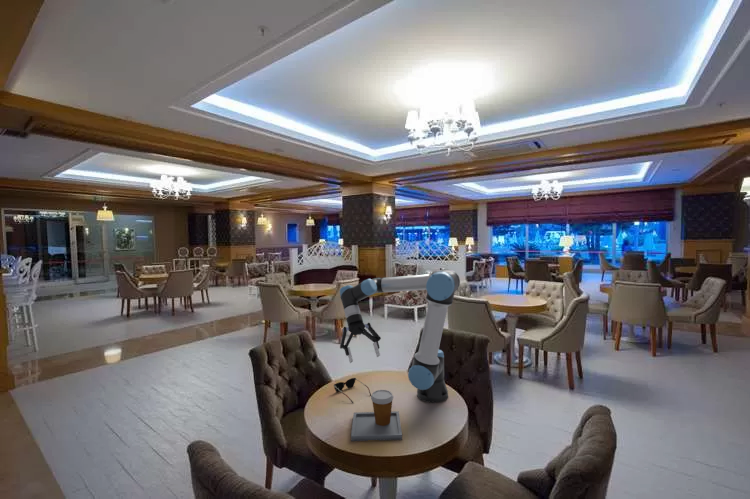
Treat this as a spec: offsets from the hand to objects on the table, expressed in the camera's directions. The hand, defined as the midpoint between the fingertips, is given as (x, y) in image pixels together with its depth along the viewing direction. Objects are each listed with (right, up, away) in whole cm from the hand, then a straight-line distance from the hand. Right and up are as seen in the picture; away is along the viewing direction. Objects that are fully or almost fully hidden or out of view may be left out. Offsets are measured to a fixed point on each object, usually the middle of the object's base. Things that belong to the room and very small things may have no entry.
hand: (365, 359), depth 162 cm
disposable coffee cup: (+8, -23, -12) cm, 27 cm away
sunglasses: (-6, -23, +16) cm, 29 cm away
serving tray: (+5, -24, -15) cm, 29 cm away
